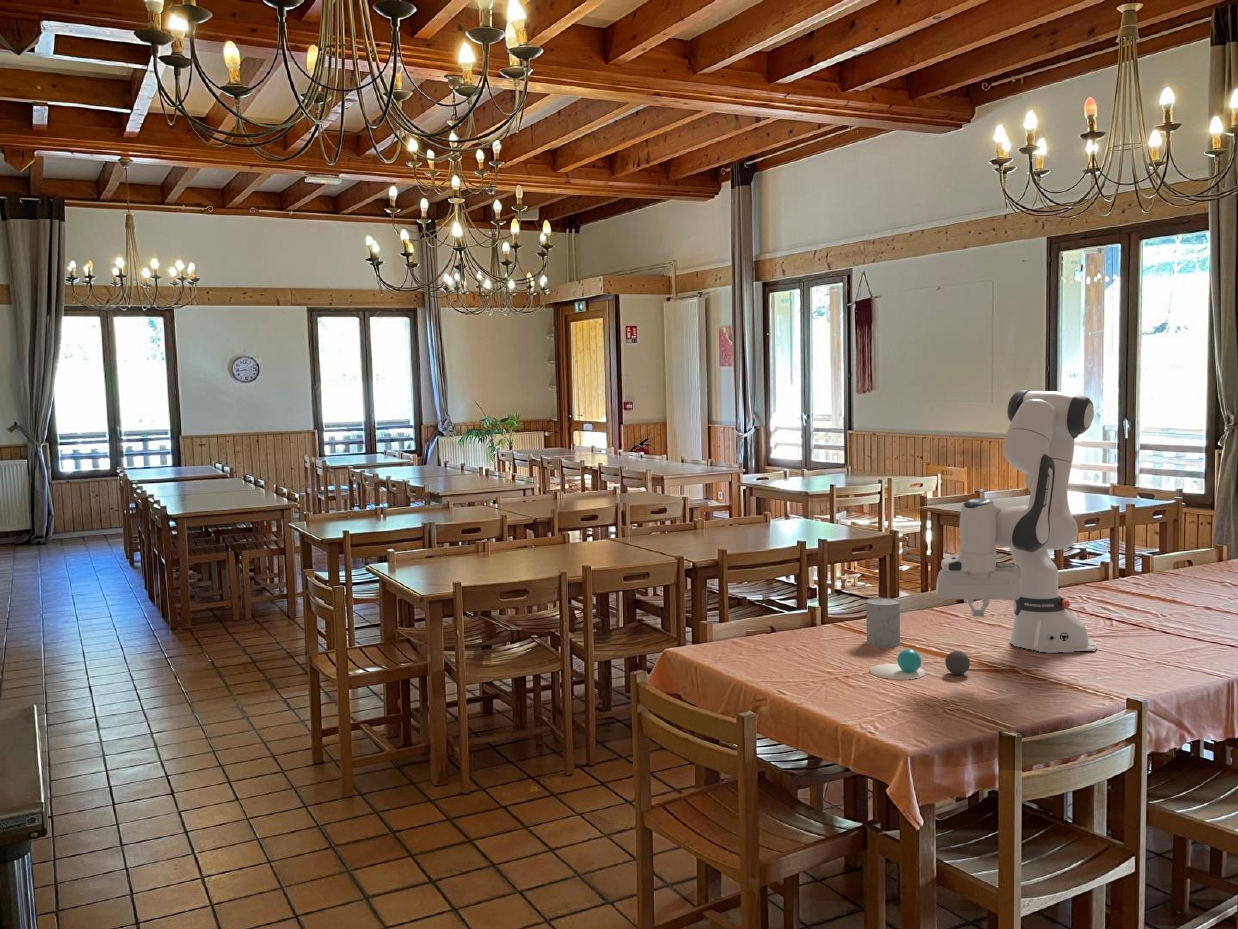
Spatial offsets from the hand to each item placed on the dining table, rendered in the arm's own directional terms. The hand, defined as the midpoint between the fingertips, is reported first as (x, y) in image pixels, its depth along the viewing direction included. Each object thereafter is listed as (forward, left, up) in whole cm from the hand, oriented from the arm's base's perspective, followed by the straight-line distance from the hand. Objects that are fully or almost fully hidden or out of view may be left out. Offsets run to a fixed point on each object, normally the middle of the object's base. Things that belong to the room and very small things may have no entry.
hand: (977, 616), depth 255 cm
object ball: (+17, 0, -12) cm, 21 cm away
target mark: (+20, 0, -15) cm, 25 cm away
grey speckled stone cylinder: (+22, -29, -15) cm, 40 cm away
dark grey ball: (+5, 0, -12) cm, 13 cm away
